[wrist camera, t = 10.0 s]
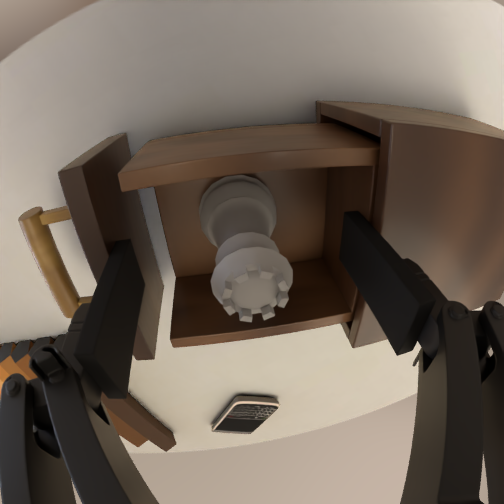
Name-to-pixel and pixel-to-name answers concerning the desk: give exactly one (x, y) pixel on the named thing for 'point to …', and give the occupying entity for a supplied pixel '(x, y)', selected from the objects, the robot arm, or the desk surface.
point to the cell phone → (245, 414)
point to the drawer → (190, 232)
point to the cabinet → (433, 199)
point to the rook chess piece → (245, 247)
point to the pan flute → (120, 410)
